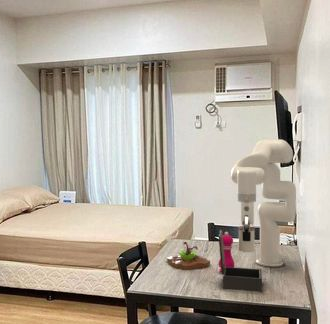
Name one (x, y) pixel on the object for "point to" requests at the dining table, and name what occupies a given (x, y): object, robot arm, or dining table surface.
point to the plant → (188, 259)
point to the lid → (222, 252)
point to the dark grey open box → (242, 279)
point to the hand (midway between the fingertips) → (246, 238)
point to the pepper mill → (227, 251)
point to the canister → (246, 245)
